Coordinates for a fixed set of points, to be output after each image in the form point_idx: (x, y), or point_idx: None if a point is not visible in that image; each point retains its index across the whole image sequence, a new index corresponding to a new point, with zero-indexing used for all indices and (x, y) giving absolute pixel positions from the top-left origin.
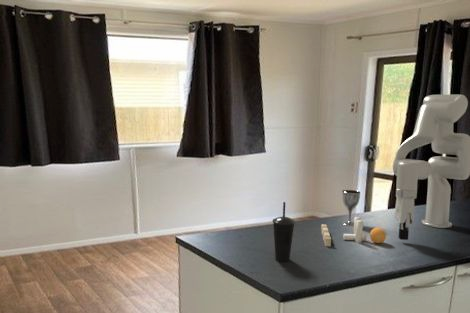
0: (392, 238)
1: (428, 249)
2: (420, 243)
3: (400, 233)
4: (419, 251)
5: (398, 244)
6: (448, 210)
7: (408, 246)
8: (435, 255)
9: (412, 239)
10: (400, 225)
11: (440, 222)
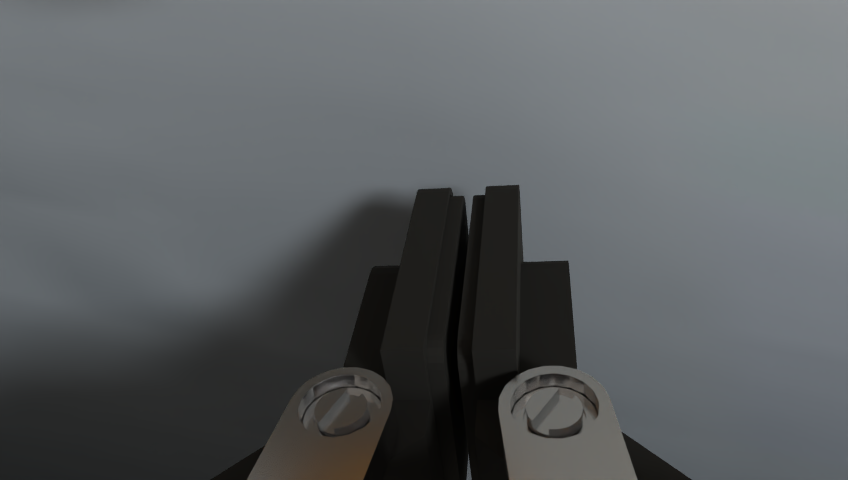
0: (799, 48)
1: None
2: None
3: (401, 282)
4: (69, 351)
5: (325, 103)
6: None
7: (266, 258)
8: (10, 476)
9: (746, 406)
10: (506, 462)
11: None
